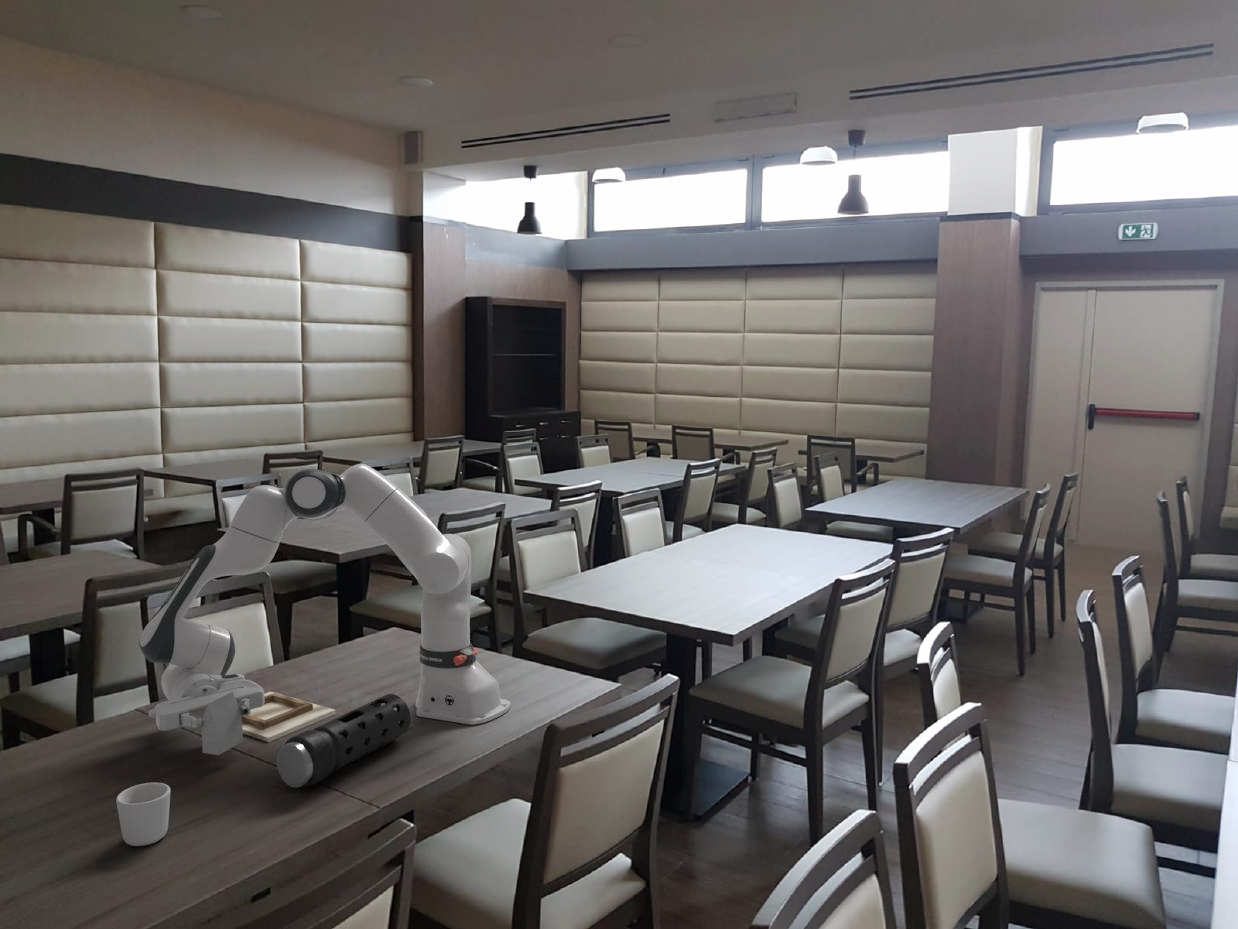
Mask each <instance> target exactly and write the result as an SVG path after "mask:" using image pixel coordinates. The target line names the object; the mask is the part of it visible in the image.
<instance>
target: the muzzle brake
mask: <svg viewBox="0 0 1238 929" xmlns="http://www.w3.org/2000/svg"><path fill="white" fill-rule="evenodd" d="M394 708H396V710H395V709H394ZM410 726H411V713H410V709H409V707H408V705H407V703H406V702H405V701H404V699H403V698H402V697H400V696H399V695H398V694H394V693H389V694H388V693H387V694H385V695H383V696H381V697H379V698H377V699H374V700H372V701H370V702H368V703H365V704H364V705H361V706H360V707H356V708H355V709H353V710H351V711H349V712H347V713H344V714H342V715H340V716H338V717H335V718H334V719H332V720H330V721H327V722H325V723H323V724H321V725H319V726H317V727H315V728H313V729H307V730H305V731H302V732H300V733H298V734H296V735H295V736H292V737H290V738H288V740H287V741H286V742H285V743H284V744H283V745H282V746H281V747H280V748H279V749H278V751H277V753H276V761H275V764H276V769H277V772H278V775H279V777H280V778H281V779H282V781H283V782H284V783H285V784H286V785H287V786H289V787H290V788H294V789H297V788H301V787H311V786H313V785H315V784H317V783H319V782H322V781H324V780H326V779H327V778H330V777H332V776H333V775H334V772H337V770H339V769H341V768H343V767H345V766H348V765H349V764H350V763H352V762H357V761H358V760H359V759H360V758H362V757H365V758H366V756H369V755H370V754H371V753H375V752H376V751H378V750H380V749H381V748H383V747H384V746H386V745H389V744H390V743H392V742H394V741H396V739H398V738H399V737H400V736H403V735H404V734H406V733H407V731H408V730H409V728H410Z"/></svg>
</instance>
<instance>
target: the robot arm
mask: <svg viewBox="0 0 1238 929" xmlns="http://www.w3.org/2000/svg"><path fill="white" fill-rule="evenodd" d="M338 509H344V510H347V511H349V512H350V513H352V514H353V515H354V516H355V517H357V519H359V520H360V521H361V522H362V523H363V524H364V525H365V526H367V528H369V530H371V531H372V532H373V533H374V534H375V535H376V536H377V537H378V538H380V539H381V541H383V542H384V543H385V544H386V545H387V546H388V547H389V548H390V549H391V550H392V551H393V552H394V553H395V555H396V556H397V558H398V559H399V560H400V561H401V563H403V565H404V566H405V567H406V568H407V569H408V571H409V572H410V573H411V574H412V575H413V576H414V577H415V579H416V581H417V583H418V585H419V586H420V587H421V589H422V590H423V591H422V599H421V600H422V601H421V609H420V610H421V611H420V628H421V634H420V635H421V636H420V637H421V644H420V645H419V652H418V654H419V655H418V656H419V662H420V663H421V666H420V668H421V669H420V677H419V687H418V692H417V697H416V700H415V704H414V705H415V706H414V707H415V708H416V712H415V714H416V717H420V718H421V717H422V718H426V719H427V718H428V719H433V720H440V721H445V722H453V723H459V724H464V725H480V724H483V723H486V722H489V721H492V720H495V719H496V718H499V717H500V716H502V715H504V714H505V713H507V712H508V711H509V710H510V709H511V706H512V705H511V701H510V700H508V699H504V698H502V697H501V690H500V686H499V682H498V680H496V679H495V677H494V676H492V675H491V674H490V673H489V672H488V671H487V670H486V668H484V667H483V666H482V664H480V663H479V661H477V655H479V654H480V649H479V648H478V649H476V650H474V647H473V644H472V642H471V641H470V640H471V638H470V637H471V635H470V634H471V631H470V630H471V628H470V626H471V625H470V619H471V618H470V615H471V614H470V610H471V609H470V607H471V592H472V591H471V590H472V566H473V565H472V562H473V561H472V559H473V557H472V549H471V546H470V545H469V544H468V542H467V541H466V540H465V539H464V537H462V536H460V535H457V534H454V533H444V534H443V533H441V531H440V530H439V529H438V528H437V527H436V525H435V524H434V523H433V521H432V520H431V519H430V518H429V517H428V514H427V513H426V512H425V511H424V509H423V508H422V507H420V506H419V505H418V504H417V503H416V502H414V500H413V499H412V498H411V497H409V496H408V495H407V494H406V493H405V492H404V491H403V490H401V489H400V488H399V487H398V486H397V485H396V484H395V483H394V482H393V481H391V480H390V478H387V477H386V476H385V475H383V474H382V473H381V472H379V471H378V470H376V469H375V468H373V467H372V466H369V465H368V464H365V463H357V464H354V465H352V466H349V467H348V468H347V469H345V470H344V472H342V473H341V474H338V473H334V472H329V471H326V470H322V469H318V468H317V469H316V468H307V469H302V470H299V471H298V472H296V473H294V474H293V475H292V476H291V477H290V478H289V479H288V480H287V483H286V485H285V487H283V488H281V487H277V486H273V485H267V484H262V485H256V486H254V487H253V488H252V489H250V490H249V492H248V493H247V495H246V496H245V497H244V499H243V500H242V502H241V503H240V504H239V507H238V508H237V510H236V512H235V514H234V516H233V518H232V520H231V522H230V524H229V527H228V529H227V530H226V532H225V533H224V534H223V536H222V537H221V538H219V539H218V540H217V541H216V542H215V543H213V544H210V545H205V546H203V548H202V549H201V550H200V551H199V552H198V553H197V554H196V555H195V557H194V558H193V559H192V561H191V562H190V564H189V565H188V566H187V568H186V569H185V571H184V572H183V574H182V575H181V577H180V578H179V580H178V581H177V582H176V584H175V586H174V588H173V589H172V590H171V592H170V593H169V595H168V596H167V597H166V599H165V600H164V602H163V604H162V605H161V606H160V608H159V609H158V610H157V611H156V612H155V614H154V615H153V616H152V617H151V619H150V620H149V621H148V623H147V624H146V626H145V627H144V628H143V630H142V633H141V635H140V638H139V641H138V644H139V648H140V651H141V652H142V654H143V657H145V659H146V660H148V661H149V663H155V664H156V663H157V664H165V665H168V666H167V667H166V668H165V669H164V671H163V673H162V676H161V679H160V680H161V681H160V682H161V683H160V684H161V688H162V692H163V694H164V696H165V698H167V700H166V701H162V702H159V703H157V704H156V705H155V706H154V708H153V709H150V710H148V716H149V717H150V718H152V719H155V722H156V727H157V728H158V729H159V731H160V732H161V731H163V732H167V731H172V730H175V729H180V728H183V727H190V728H191V727H192V729H194V730H195V729H198V728H201V727H202V719H203V716H204V714H205V710H206V704H208V703H210V702H212V701H214V700H216V699H218V698H220V697H222V696H224V695H226V694H228V693H230V692H233V694H234V697H235V700H236V702H237V704H238V706H239V709H240V711H241V715H242V716H245V715H249V714H250V710H251V709H255V708H259V707H262V706H263V705H264V703H265V696H264V694H265V690H264V688H263V687H262V686H261V685H259V684H258V683H256V682H254V681H253V680H251V679H245V676H244V674H242V673H234V674H227V673H228V671H229V669H230V668H231V666H232V664H233V662H234V658H235V655H236V644H235V640H234V637H233V634H232V633H231V632H230V630H229V629H228V628H224V627H220V626H216V625H213V624H208V623H202V622H199V621H196V620H195V621H194V620H191V619H187V618H185V617H184V616H185V614H186V613H187V612H188V610H189V609H190V607H191V605H192V604H193V603H194V601H195V599H196V598H197V596H198V595H199V593H200V591H201V590H202V589H203V588H204V586H205V585H206V584H207V583H208V582H210V581H212V580H214V579H217V578H221V577H227V576H242V575H248V574H253V573H257V572H258V571H260V570H262V569H264V568H266V567H267V566H268V565H269V564H270V563H271V562H272V561H273V559H274V557H275V554H277V553H276V552H277V550H278V549H279V546H280V543H281V542H282V539H283V536H284V535H285V532H286V530H287V528H288V526H289V525H290V523H291V522H292V521H294V520H295V519H296V520H300V519H301V520H309V521H318V520H323V519H326V518H329V517H331V516H332V515H333V514H334V513H335V512H336V511H337V510H338Z"/></svg>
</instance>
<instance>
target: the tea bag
mask: <svg viewBox="0 0 1238 929" xmlns="http://www.w3.org/2000/svg"><path fill="white" fill-rule="evenodd" d="M200 728H201V743H202V753H203V754H209V755H213V756H214V755H215V756H220V755H222V754H223V753H225V752H226V751H228V750H230V749H231V748H234V747H236V746H237V745H240V743H242V742H244V737H243V736H244V734H243V732H242V715H241V711H240V709H239V706H238V704H237V702H236V700H235V697H234V694H233V692H230V693H228V694H226V695H224V696H222V697H220V698H218V699H216V700H214V701H212V702H210V703H208V704H206V710H205V714H204V716H203V719H202V727H200Z"/></svg>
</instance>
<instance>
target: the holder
mask: <svg viewBox="0 0 1238 929" xmlns="http://www.w3.org/2000/svg"><path fill="white" fill-rule="evenodd" d="M264 696H265V703H264V705H263V706H262V707H259V708H255V709H251V710H250V714H249V715H245V716H242V732H243V735H245V736H249V737H251V736H252V738H254V739H257V740H260V739H261V740H260V741H264V742H267V743H271V742H273V741H275V740H277V739H280V738H282V737H285V736H287V735H290V734H292V733H294V732H297V731H299V730H301V729H304V728H305V727H308V726H312V725H313V724H315V723H319V722H320V721H323V720H325V719H327V718H329V717H333V716H334V715H337V714H336V712H337V710H336V709H334V708H330V707H327V706H324V705H319V704H316V703H312V702H309V701H306V700H303V699H299V698H295V697H292V696H290V695H289V696H288V695H285V694H281V693H278V692H275V691H268V692H264Z"/></svg>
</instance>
